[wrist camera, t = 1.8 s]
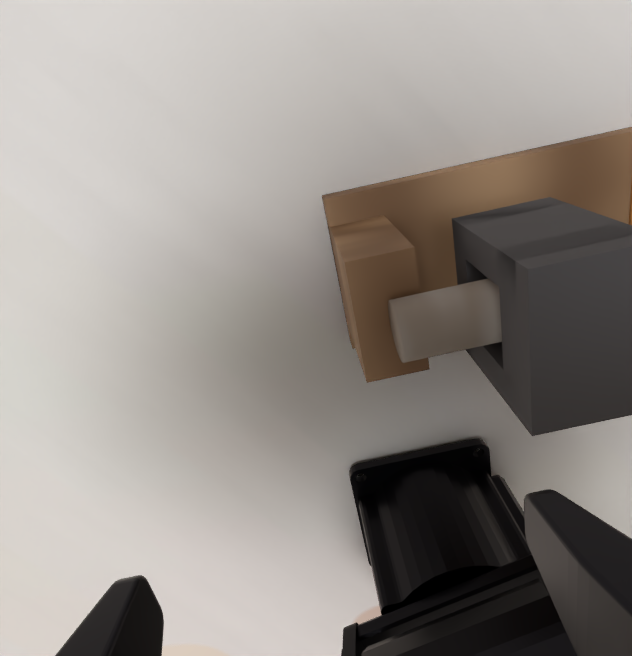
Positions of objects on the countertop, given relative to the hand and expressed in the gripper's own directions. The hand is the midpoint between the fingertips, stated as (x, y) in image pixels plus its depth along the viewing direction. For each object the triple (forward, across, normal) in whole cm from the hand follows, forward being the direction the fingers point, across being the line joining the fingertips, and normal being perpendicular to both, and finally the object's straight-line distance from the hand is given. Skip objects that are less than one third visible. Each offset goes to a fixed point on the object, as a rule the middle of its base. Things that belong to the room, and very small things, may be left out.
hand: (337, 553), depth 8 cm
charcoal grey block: (+9, -7, 0) cm, 11 cm away
